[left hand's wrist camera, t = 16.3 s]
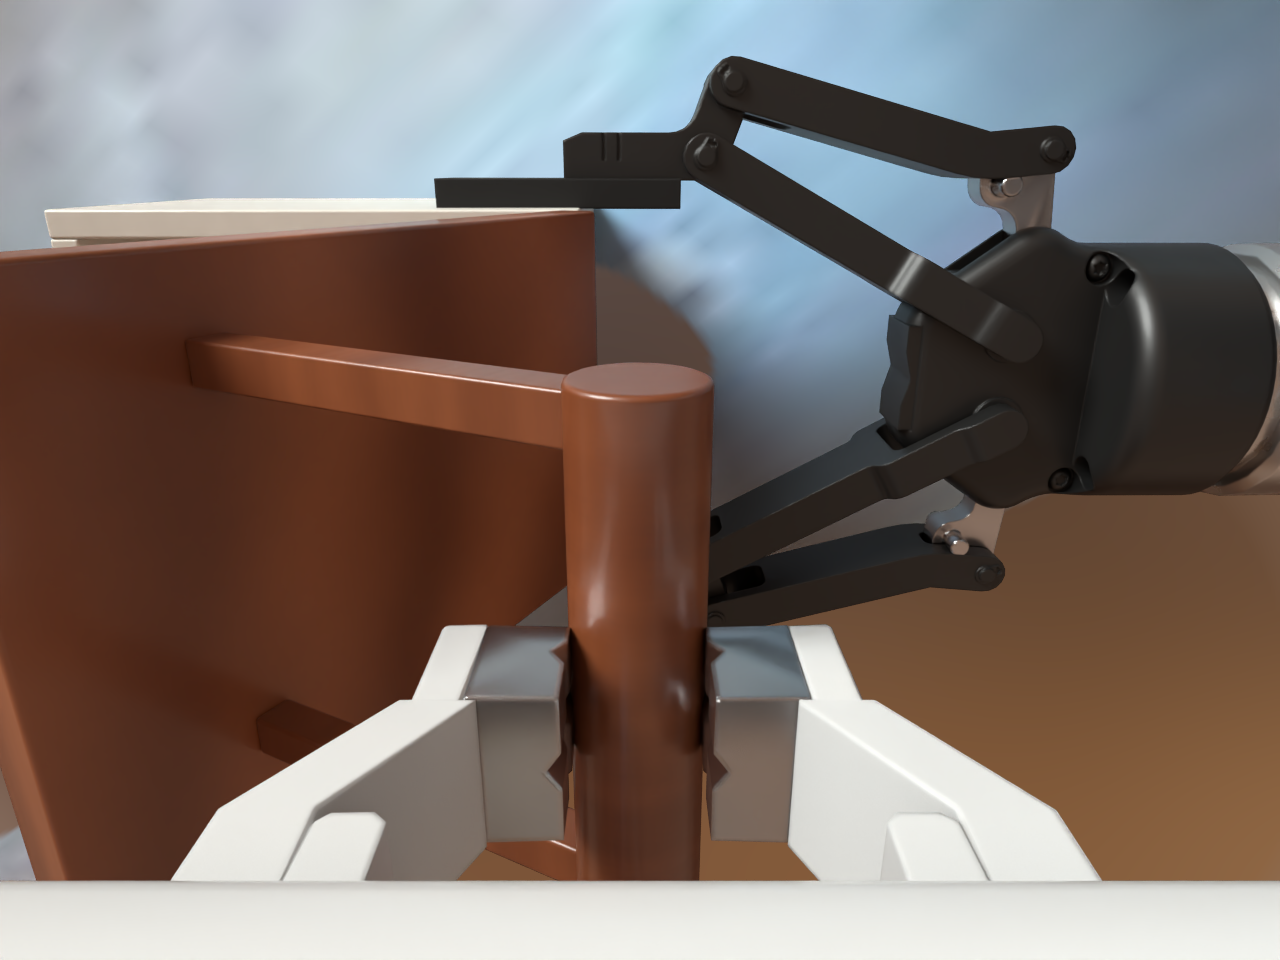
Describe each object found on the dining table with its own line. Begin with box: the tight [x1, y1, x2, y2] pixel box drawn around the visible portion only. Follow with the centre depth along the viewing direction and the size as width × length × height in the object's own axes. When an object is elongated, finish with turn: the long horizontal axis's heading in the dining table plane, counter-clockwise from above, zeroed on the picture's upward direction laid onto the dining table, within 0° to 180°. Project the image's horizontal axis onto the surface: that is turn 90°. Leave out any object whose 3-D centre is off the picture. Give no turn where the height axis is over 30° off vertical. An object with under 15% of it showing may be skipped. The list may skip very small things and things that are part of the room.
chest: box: [45, 198, 593, 248], centre depth 27 cm, size 14×10×9 cm
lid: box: [0, 210, 714, 881], centre depth 15 cm, size 15×10×9 cm
